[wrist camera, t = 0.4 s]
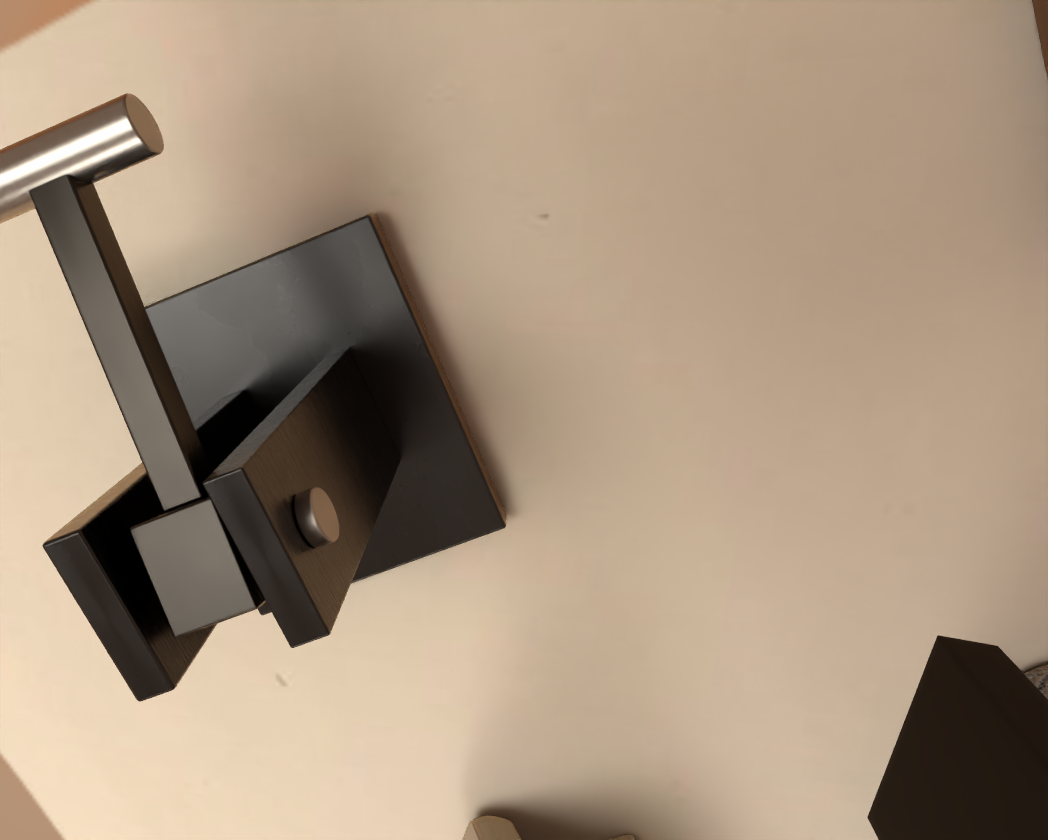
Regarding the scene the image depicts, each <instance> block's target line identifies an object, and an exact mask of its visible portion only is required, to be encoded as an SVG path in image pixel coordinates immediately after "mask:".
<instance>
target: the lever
mask: <svg viewBox="0 0 1048 840" xmlns="http://www.w3.org/2000/svg"><path fill="white" fill-rule="evenodd" d="M163 148H164V144H163V139H162V135H161V132H160V130H159V127H158V125H157V123H156V121H155V119H154V118H153V116H152V114H151V113H150V111H149V110H148V109H147V107H146V106H145V105H144V104H143V103H142V102H141V101H140V100H139V99H138V98H137V97H136V96H134V95H132V94H124V95H122V96H119V97H117V98H115V99H113V100H110V101H108V102H106V103H104V104H102V105H99V106H97V107H95V108H93V109H90V110H88V111H86V112H84V113H81V114H79V115H77V116H75V117H72V118H70V119H68V120H66V121H63V122H61V123H59V124H57V125H55V126H52V127H50V128H48V129H46V130H43V131H41V132H39V133H37V134H34V135H32V136H30V137H28V138H25V139H23V140H21V141H19V142H16V143H14V144H12V145H10V146H8V147H5V148H3V149H1V150H0V224H1V223H3V222H5V221H7V220H10V219H12V218H14V217H17V216H19V215H21V214H23V213H26V212H28V211H30V210H33V209H35V208H36V210H37V213H38V215H39V217H40V220H41V222H42V225H43V227H44V229H45V232H46V234H47V236H48V239H49V241H50V244H51V246H52V248H53V251H54V253H55V256H56V258H57V260H58V263H59V265H60V267H61V270H62V272H63V275H64V277H65V279H66V282H67V284H68V286H69V289H70V291H71V294H72V296H73V298H74V301H75V303H76V305H77V308H78V310H79V313H80V315H81V317H82V320H83V322H84V324H85V327H86V329H87V332H88V334H89V336H90V339H91V341H92V343H93V346H94V348H95V351H96V353H97V355H98V358H99V360H100V362H101V365H102V367H103V370H104V372H105V374H106V377H107V379H108V382H109V384H110V386H111V389H112V391H113V393H114V396H115V398H116V401H117V403H118V405H119V408H120V410H121V412H122V415H123V417H124V420H125V422H126V424H127V427H128V429H129V431H130V434H131V436H132V439H133V441H134V443H135V446H136V448H137V450H138V453H139V455H140V458H141V460H142V462H143V465H144V467H145V469H146V472H147V474H148V477H149V479H150V481H151V484H152V486H153V488H154V491H155V493H156V496H157V498H158V500H159V503H160V505H161V507H162V510H163V511H164V513H162V514H160V515H157V516H155V517H153V518H151V519H148V520H146V521H144V522H141V523H139V524H137V525H134V526H132V527H130V528H129V532H130V534H131V537H132V539H133V541H134V544H135V546H136V548H137V551H138V553H139V555H140V558H141V560H142V563H143V565H144V567H145V570H146V572H147V574H148V577H149V579H150V581H151V584H152V586H153V588H154V591H155V593H156V596H157V598H158V600H159V603H160V605H161V607H162V610H163V612H164V614H165V617H166V619H167V621H168V624H169V626H170V628H171V631H172V633H173V636H174V637H175V638H178V637H181V636H184V635H186V634H189V633H192V632H195V631H197V630H200V629H203V628H206V627H208V626H211V625H214V624H217V623H220V622H222V621H225V620H228V619H231V618H233V617H236V616H239V615H242V614H244V613H247V612H250V611H253V610H255V609H257V608H259V607H260V606H261V605H262V604H263V603H265V602H266V600H265V598H264V597H263V595H262V593H261V591H260V589H259V587H258V586H257V584H256V582H255V580H254V578H253V576H252V574H251V573H250V571H249V569H248V567H247V565H246V563H245V562H244V560H243V558H242V556H241V554H240V552H239V550H238V549H237V547H236V545H235V543H234V541H233V539H232V538H231V536H230V534H229V532H228V530H227V528H226V526H225V525H224V523H223V521H222V519H221V517H220V515H219V514H218V512H217V510H216V508H215V506H214V504H213V502H212V501H211V499H210V497H209V495H208V493H207V491H206V490H205V488H204V486H203V482H204V481H205V480H206V479H207V478H208V477H209V475H210V474H211V473H212V472H213V471H212V469H211V466H210V464H209V462H208V459H207V457H206V454H205V452H204V449H203V447H202V445H201V442H200V440H199V437H198V435H197V433H196V430H195V428H194V425H193V423H192V421H191V418H190V416H189V413H188V411H187V408H186V406H185V404H184V401H183V399H182V396H181V394H180V392H179V389H178V387H177V384H176V382H175V380H174V377H173V375H172V372H171V370H170V367H169V365H168V363H167V360H166V358H165V355H164V353H163V351H162V348H161V346H160V343H159V341H158V339H157V336H156V334H155V331H154V329H153V326H152V324H151V322H150V319H149V317H148V314H147V312H146V310H145V307H144V305H143V302H142V300H141V298H140V295H139V293H138V290H137V288H136V285H135V283H134V281H133V278H132V276H131V273H130V271H129V269H128V266H127V264H126V261H125V259H124V257H123V254H122V252H121V249H120V247H119V245H118V242H117V240H116V237H115V235H114V232H113V230H112V228H111V225H110V223H109V220H108V218H107V216H106V213H105V211H104V208H103V206H102V204H101V201H100V199H99V196H98V194H97V191H96V189H95V187H94V184H93V183H95V182H97V181H99V180H102V179H104V178H106V177H108V176H111V175H113V174H115V173H118V172H120V171H122V170H124V169H127V168H129V167H131V166H134V165H136V164H138V163H141V162H143V161H145V160H147V159H150V158H152V157H154V156H157V155H159V154H161V153H162V151H163Z"/></svg>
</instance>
